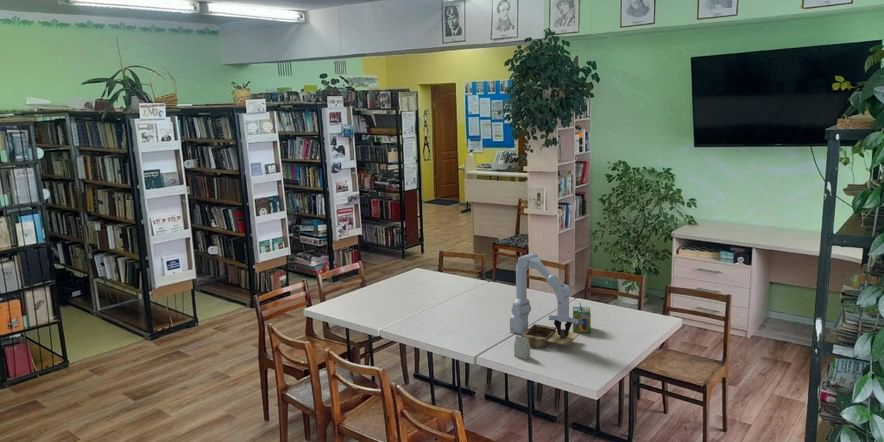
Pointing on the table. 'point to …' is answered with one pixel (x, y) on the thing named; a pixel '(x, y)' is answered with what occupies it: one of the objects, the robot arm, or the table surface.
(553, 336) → the lid
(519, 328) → the robot arm
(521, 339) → the grey upright block
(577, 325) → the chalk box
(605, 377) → the table surface
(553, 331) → the box
